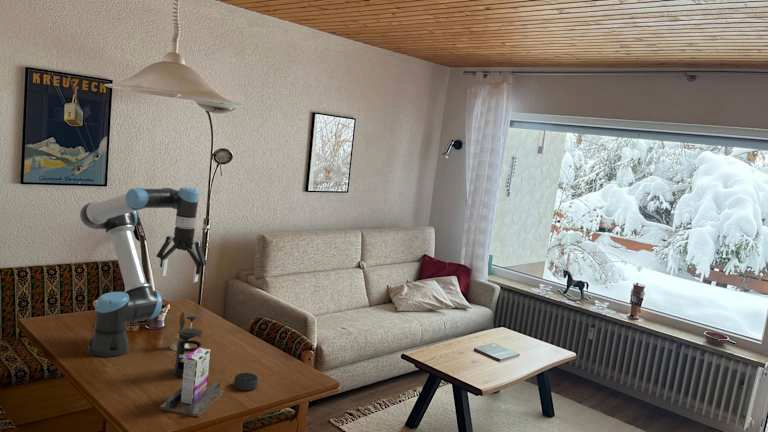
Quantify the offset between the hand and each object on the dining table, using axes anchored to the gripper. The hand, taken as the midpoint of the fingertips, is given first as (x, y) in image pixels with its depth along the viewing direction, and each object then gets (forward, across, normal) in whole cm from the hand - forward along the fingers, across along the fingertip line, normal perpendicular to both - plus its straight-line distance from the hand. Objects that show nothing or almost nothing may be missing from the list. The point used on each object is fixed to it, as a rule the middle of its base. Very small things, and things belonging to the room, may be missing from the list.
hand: (179, 278), depth 234 cm
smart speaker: (+34, +36, -10) cm, 51 cm away
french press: (+34, +12, -9) cm, 37 cm away
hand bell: (+34, -3, +13) cm, 37 cm away
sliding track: (+34, +25, -29) cm, 51 cm away
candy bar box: (+33, +25, -29) cm, 50 cm away
